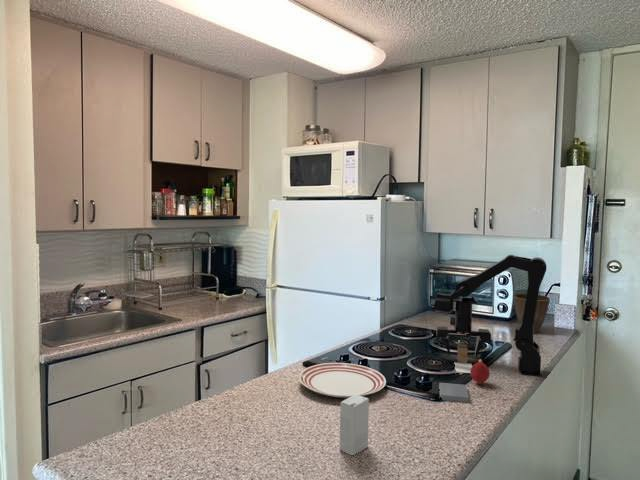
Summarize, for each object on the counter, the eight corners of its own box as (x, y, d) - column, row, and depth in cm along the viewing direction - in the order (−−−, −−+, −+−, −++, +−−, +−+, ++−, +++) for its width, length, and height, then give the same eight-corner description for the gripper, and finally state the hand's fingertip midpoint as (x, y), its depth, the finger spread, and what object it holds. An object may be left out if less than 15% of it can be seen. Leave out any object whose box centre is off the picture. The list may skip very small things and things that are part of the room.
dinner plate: (396, 379, 158) (396, 369, 158) (369, 412, 134) (369, 400, 133) (320, 366, 170) (321, 357, 170) (282, 394, 145) (282, 383, 145)
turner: (453, 359, 178) (453, 344, 178) (470, 361, 177) (470, 345, 176) (455, 373, 163) (456, 356, 163) (474, 375, 162) (475, 358, 162)
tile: (439, 382, 151) (440, 394, 142) (465, 384, 150) (468, 397, 140) (439, 388, 151) (440, 401, 142) (465, 391, 150) (468, 404, 140)
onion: (490, 388, 151) (491, 363, 150) (471, 386, 152) (471, 362, 151) (487, 381, 157) (488, 357, 156) (469, 380, 158) (470, 356, 157)
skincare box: (353, 441, 117) (354, 393, 116) (369, 447, 114) (370, 398, 113) (338, 451, 112) (338, 400, 111) (353, 458, 109) (354, 406, 108)
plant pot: (550, 330, 221) (552, 296, 220) (545, 337, 208) (547, 301, 207) (515, 325, 229) (517, 292, 228) (509, 332, 216) (510, 297, 215)
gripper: (487, 310, 179) (486, 351, 181) (436, 308, 183) (435, 348, 184) (492, 317, 169) (490, 361, 170) (437, 314, 172) (436, 357, 174)
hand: (462, 356), depth 175 cm, fingers open, 9 cm apart
